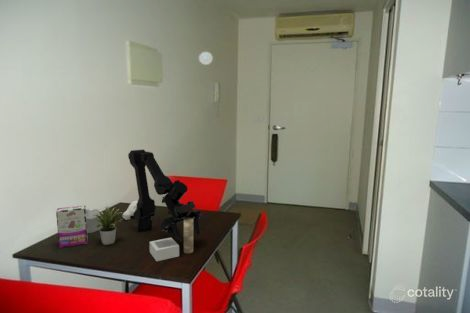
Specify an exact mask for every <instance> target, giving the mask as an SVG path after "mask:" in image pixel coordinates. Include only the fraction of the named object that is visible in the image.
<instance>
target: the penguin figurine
mask: <svg viewBox="0 0 470 313" xmlns="http://www.w3.org/2000/svg"><path fill="white" fill-rule="evenodd" d="M137 202H138V200H134V201H132V202H131V203H130V204H129V205H128V207H127V209H126V211H123V212H122V215H124V216H122V219H123V220H125V221H127V220H131V216H133V217H134V215H133V213H134V212H135V211H136V209H137Z"/></svg>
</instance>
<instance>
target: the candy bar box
mask: <svg viewBox="0 0 470 313" xmlns="http://www.w3.org/2000/svg"><path fill="white" fill-rule="evenodd" d="M86 208H87V207H86V205H78V206H68V207H67V206H66V207H58V208H57V210H56V211H55V214H56V225H57V237H58V239H57V240H58V248H59V249H62V248H69V247H77V246H84V245H88V233H87V221H86Z"/></svg>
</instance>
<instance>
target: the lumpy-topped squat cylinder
mask: <svg viewBox="0 0 470 313" xmlns="http://www.w3.org/2000/svg"><path fill="white" fill-rule="evenodd" d="M98 211H99V209H98V208H94V209H92V210H91V209H89V208H87V209H86V221H87V234H89V233H95V232H97V231H99V229H100V228H102V224H101V223H100V222H98V221H95V219H99V218H98V217H97V216H95V215H98V216H100V217H101V215H100V213H99V212H98ZM100 212H101V213H103V212H102V211H100ZM96 213H97V214H96ZM92 215H93V216H92ZM103 215H104V216H105V214H104V213H103ZM101 218H102V217H101ZM99 220H100V219H99ZM97 224H101V225H100V227H97V226H96V225H97Z"/></svg>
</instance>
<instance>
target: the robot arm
mask: <svg viewBox="0 0 470 313" xmlns="http://www.w3.org/2000/svg"><path fill="white" fill-rule="evenodd" d="M127 156H128V159H129V163H130V165H131V166H132V167H133V169H134V174H135V181H136V185H137V194H138V200H137V201H138V202H137V209H136V211H135V212H134V213H133V218H134V219H135V220H137V232H138V233H139V232H150V231H151V232H152V229H153V219H152V217H155V215H156V209H157V207H156V204H155V203H156V202H155V200H154V199H152V197H151V196H150V191H149V184H148V177H147V171H146V168H147V170H148V172H149V173H150V175H151V177H152V179H153V181H154V182H153V187H154V189H155V192H156V194H157V195H160V196H162V195H163V196H162V199H161V203H162V204H164V205H166V207H167V209H168V212H167V213H168V215H170V216H171V217H168V218H167V217H166V218H165V219H163V221H162V222H161V223H160V224H159V228H160V231H161V232H165V233H168V234H170V235H172V236H173V237H175V238H176V239H178V240H179V241H180V242H182V241H184V238H183V237H182V234H181V233H180V231H179V229H178V226H177V225H178V224H179V223H184V219H185V218H193V231H194V232H195V233H196V234H197V235H200V234H201V231H200V226H199V223H200V222H199V220H200V218H201V216H202V215H203V213H202V212H201V210H200V209H195V210H194V208H196V204H195V202H194V200H189V201H188V202H187V203H186V204H184V203H183V202H182V203H181V202H180V200H181V199H182V198H183V197H184V195H185V194H186V193H187V192H188V186H187V184H185V183H184V182H182V181H180V179H178V180H177V179H176V180H174V182H173V181H172V180H171V178H170V177H169V176H167V175H165V174H164V172H163V170H162V169H161V167H160V165H159V164H158V162H157V160H156V159H155V155H154V152H152V151H146V150H145V149H133V150H130V151H129V152H128V155H127Z"/></svg>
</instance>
